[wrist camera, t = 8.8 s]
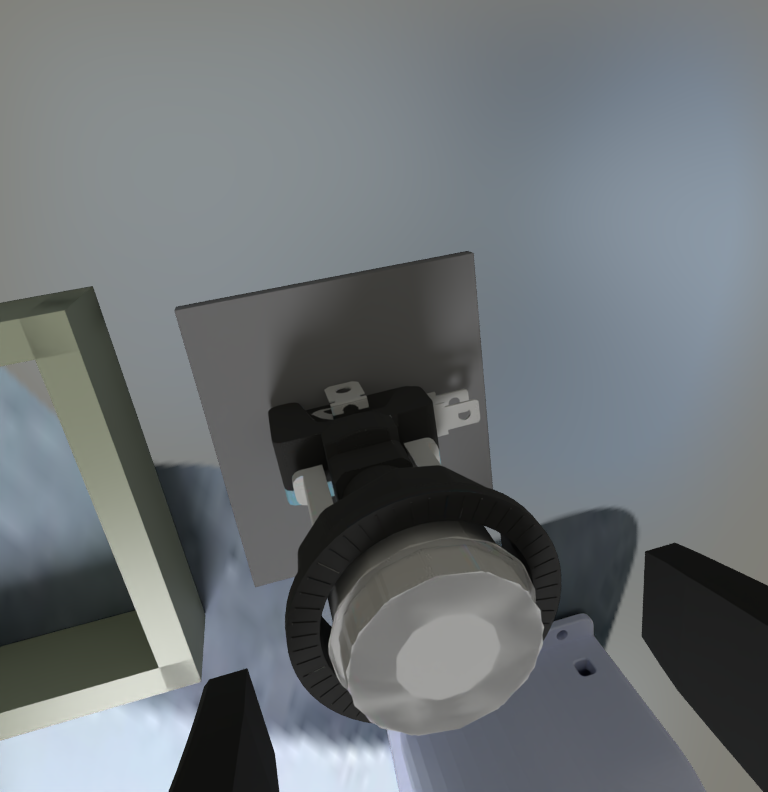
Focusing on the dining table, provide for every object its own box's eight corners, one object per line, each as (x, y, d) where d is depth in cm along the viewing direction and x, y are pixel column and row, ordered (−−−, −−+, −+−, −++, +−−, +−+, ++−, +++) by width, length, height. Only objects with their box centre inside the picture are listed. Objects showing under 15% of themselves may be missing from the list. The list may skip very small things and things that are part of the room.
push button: (453, 319, 19) (660, 465, 10) (470, 463, 21) (653, 693, 12) (244, 367, 18) (255, 580, 9) (284, 513, 20) (327, 808, 11)
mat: (467, 250, 19) (473, 253, 18) (490, 514, 22) (495, 522, 22) (176, 307, 17) (174, 310, 17) (254, 578, 21) (255, 587, 21)
